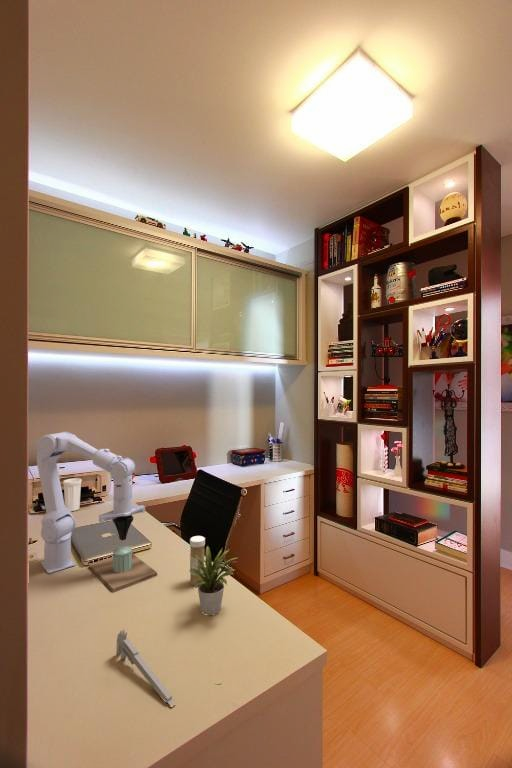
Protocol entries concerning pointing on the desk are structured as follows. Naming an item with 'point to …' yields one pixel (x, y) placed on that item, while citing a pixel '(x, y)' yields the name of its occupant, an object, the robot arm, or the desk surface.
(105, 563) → the walnut board
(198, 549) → the sprinkles bottle
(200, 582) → the house plant
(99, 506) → the desk surface
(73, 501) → the cup
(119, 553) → the cap
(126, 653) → the caliper
